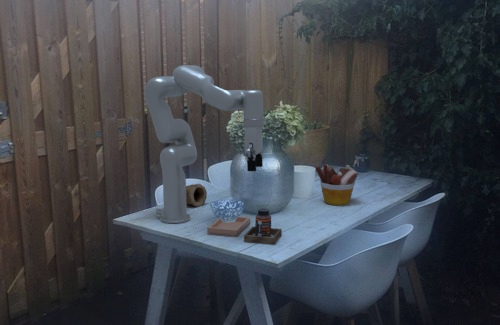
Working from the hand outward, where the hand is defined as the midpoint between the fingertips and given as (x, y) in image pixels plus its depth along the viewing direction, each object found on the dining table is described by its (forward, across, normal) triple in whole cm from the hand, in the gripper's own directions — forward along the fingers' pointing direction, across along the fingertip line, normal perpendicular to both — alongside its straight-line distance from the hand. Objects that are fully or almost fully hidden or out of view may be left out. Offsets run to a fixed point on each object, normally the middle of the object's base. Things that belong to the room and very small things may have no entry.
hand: (255, 168), depth 197 cm
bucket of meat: (+26, -57, +24) cm, 67 cm away
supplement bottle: (+26, +4, +3) cm, 27 cm away
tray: (+25, -5, -13) cm, 29 cm away
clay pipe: (+24, -39, -42) cm, 62 cm away
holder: (+26, +4, +3) cm, 26 cm away
